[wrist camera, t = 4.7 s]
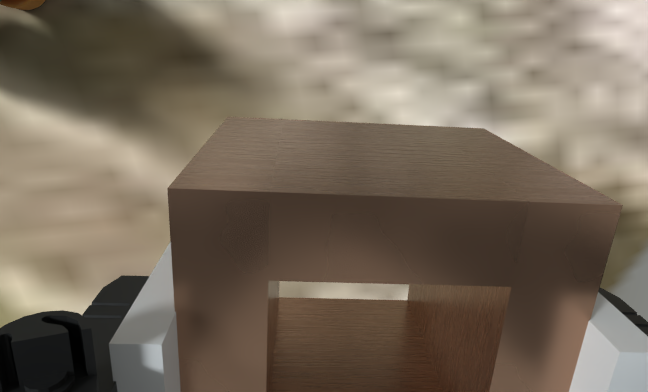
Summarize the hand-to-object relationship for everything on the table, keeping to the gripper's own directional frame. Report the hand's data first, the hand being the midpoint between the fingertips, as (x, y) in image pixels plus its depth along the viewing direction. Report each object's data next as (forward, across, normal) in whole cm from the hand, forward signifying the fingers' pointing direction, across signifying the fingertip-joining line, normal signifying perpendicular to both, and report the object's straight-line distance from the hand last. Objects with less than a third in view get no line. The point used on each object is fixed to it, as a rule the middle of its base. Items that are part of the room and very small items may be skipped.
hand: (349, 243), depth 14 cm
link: (0, 0, 0) cm, 0 cm away
